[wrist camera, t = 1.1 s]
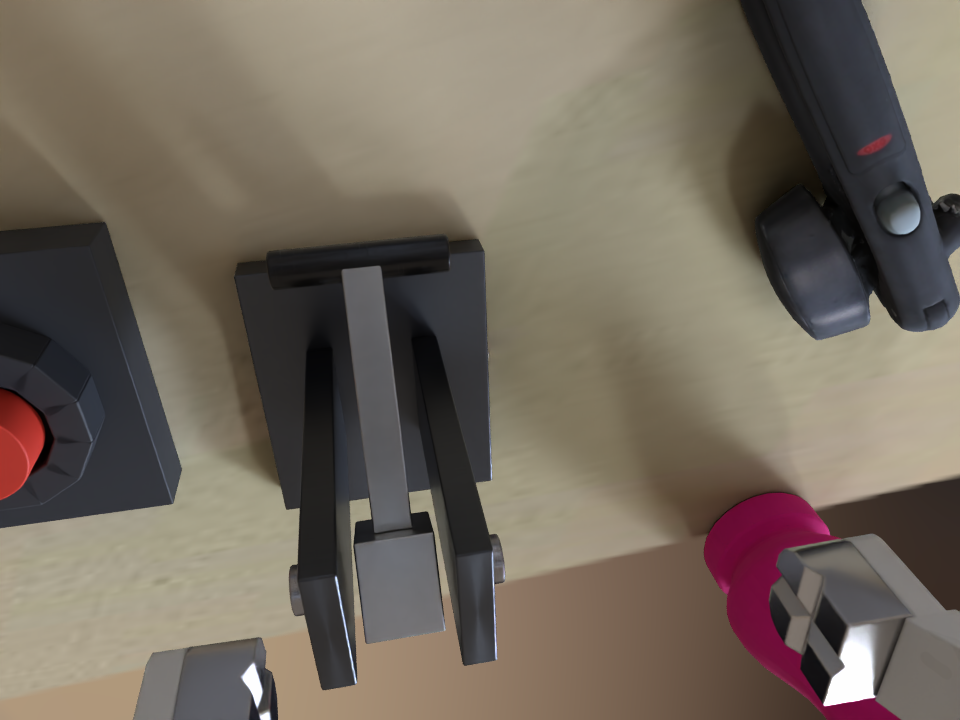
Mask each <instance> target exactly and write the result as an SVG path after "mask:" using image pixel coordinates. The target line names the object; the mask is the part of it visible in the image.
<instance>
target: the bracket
mask: <svg viewBox="0 0 960 720" xmlns="http://www.w3.org/2000/svg"><path fill="white" fill-rule="evenodd" d="M449 247H450V255H451V269H450V271H449V272H443V273H433V274H424V275H414V276H405V277H395V278H386V279H383V287H384V295H385V303H386V311H387V320H388V328H389V336H390V344H391V353H392V361H393V369H394V377H395V386H396V394H397V402H398V411H399V419H400V427H401V435H402V444H403V452H404V460H405V468H406V477H407V485H408V492H414V491H421V490H428V489H431V494H432V499H433V505H434V510H435V516H436V521H437V526H438V532H439V537H440V543H441V548H442V553H443V559H444V564H445V570H446V575H447V581H448V586H449V591H450V597H451V602H452V607H453V613H454V618H455V624H456V629H457V635H458V640H459V645H460V651H461V656H462V662H463V664H464V666H467V665H472V664H478V663H484V662H489V661H494V660H497V640H496V612H495V584H498V583H503V582H504V581H505V565H504V558H503V552H502V547H501V543H500V540H499V537H498V535H497V534H492V535H489V532H488V528H487V524H486V521H485V517H484V513H483V509H482V506H481V502H480V498H479V494H478V490H477V487H476V482H483V481H490V480H492V461H491V432H490V402H489V372H488V342H487V313H486V283H485V253H484V249H483V247H482V245H481V243H480V241H479V239H475V240H465V241H455V242H449ZM234 279H235V284H236V288H237V293H238V297H239V301H240V306H241V310H242V315H243V319H244V324H245V328H246V333H247V337H248V342H249V346H250V351H251V355H252V360H253V364H254V368H255V373H256V377H257V382H258V386H259V391H260V395H261V400H262V404H263V409H264V413H265V418H266V422H267V427H268V431H269V436H270V440H271V444H272V449H273V453H274V458H275V462H276V467H277V471H278V476H279V480H280V485H281V489H282V494H283V498H284V503H285V507H286V509H287V510H289V509H296V508H300V516H299V542H298V564H297V565H292V566H291V567H290V570H289V592H290V600H291V606H292V610H293V613H294V615H295V616H301V615H305V619H306V623H307V627H308V632H309V636H310V640H311V645H312V649H313V654H314V658H315V662H316V666H317V671H318V675H319V680H320V684H321V688H322V690H329V689H334V688H340V687H346V686H351V685H355V684H356V683H357V663H356V641H355V618H354V595H353V572H352V549H351V527H350V504H349V501H351V500H358V499H365V498H369V493H368V485H367V477H366V469H365V461H364V452H363V444H362V436H361V428H360V420H359V412H358V404H357V396H356V388H355V380H354V372H353V364H352V356H351V348H350V340H349V332H348V324H347V316H346V308H345V300H344V292H343V284H342V283H339V284H329V285H320V286H310V287H301V288H291V289H282V290H273V289H272V288H271V286H270V283H269V278H268V273H267V265H266V261H256V262H246V263H238V264H237V267H236V271H235V275H234Z"/></svg>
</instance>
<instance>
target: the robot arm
mask: <svg viewBox="0 0 960 720" xmlns="http://www.w3.org/2000/svg"><path fill="white" fill-rule="evenodd" d="M776 567H777V568H778V570H779V571H780V573H781V574H782V575H781V576H780V577H779V578H778V579H777V581H776V582H775V583H774V584H773V585H772V586H771V590H770V596H769V606H770V613H771V618H772V621H773V623H774V626H775V628H776V631H777V632H778V634H779V636H780V637H781V639H782V641H783V642H784V644H785V645H786V646H788V647H789V648H791V649H793V650H794V651H796V652H798V653H799V654H801V655H802V657H801V666H800V670H801V671H802V673H803V674H804V676H805V677H806V679H807V681H808V682H809V684H810V685H811V687H812V688H813V690H814V691H815V693H816V695H817V696H818V698H819V699H820V701H821V702H822V704H823V706H827V705H833V704H839V703H845V702H851V701H857V700H863V699H869V698H875V697H876V699H875V701H877V702H878V703H879V704H881V705H882V706H883V707H885V708H886V709H887V710H889V711H890V712H891V713H893V714H894V715H896V716H897V717H898V718H900V719H901V720H960V612H959V611H957V610H948V611H946V610H945V609H944V608H943V607H942V605H941V604H940V603H939V602H938V601H937V600H936V599H935V598H934V597H933V596H932V594H931V593H930V592H929V591H928V590H927V589H926V588H925V586H924V585H923V584H922V583H921V582H920V581H919V580H918V579H917V578H916V577H915V575H914V574H913V573H912V572H911V571H910V570H909V569H908V568H907V567H906V565H905V564H904V563H903V562H902V561H901V560H900V559H899V558H898V556H897V555H896V554H895V553H894V552H893V551H892V550H891V549H890V548H889V546H888V545H887V544H886V543H885V542H884V541H883V540H882V539H881V538H880V537H878V536H876V535H874V534H868V535H862V536H856V537H851V538H844V539H835V540H830V541H824V542H819V543H813V544H808V545H802V546H797V547H791V548H785V549H784V550H783V551H782V552H781V553H780V554H779V556H778V560H777V564H776ZM265 663H266V650H265V647H264V644H263V641H262V638H259V637H258V638H251V639H244V640H236V641H229V642H222V643H215V644H208V645H201V646H194V647H188V648H182V649H175V650H169V651H162V652H155V653H152V655H151V657H150V659H149V660H148V662H147V664H146V668H145V672H144V676H143V681H142V684H141V689H140V693H139V697H138V701H137V705H136V710H135V714H134V718H133V720H278V707H277V694H276V688H275V682H274V679H273V675H272V672H271V671H269V670H267V669H266V668H265Z"/></svg>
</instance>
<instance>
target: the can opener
mask: <svg viewBox="0 0 960 720" xmlns="http://www.w3.org/2000/svg"><path fill="white" fill-rule="evenodd" d="M740 2H741V5H742V7H743V10H744V12H745V15H746V17H747V20H748V23H749V25H750V27H751V30H752V32H753V35H754V37H755V39H756V41H757V44H758V46H759V49H760V51H761V53H762V55H763V58H764V60H765V63H766V64H767V67H768V69H769V71H770V73H771V76H772V78H773V80H774V82H775V84H776V86H777V88H778V90H779V92H780V95H781V97H782V99H783V101H784V103H785V104H786V107H787V110H788V112H789V114H790V116H791V118H792V120H793V121H794V124H795V127H796V128H797V131H798V132H799V134H800V136H801V139H802V141H803V143H804V145H805V147H806V150H807V152H808V154H809V155H810V158H811V160H812V163H813V165H814V167H815V169H816V171H817V173H818V177H819V179H820V181H821V183H822V187H823V190H824V193H825V195H826V200H825V203H824V205H823V206H822V207H821V206H820V205H819V203H818V202H817V201H816V199H815V197H814V196H813V195H812V194H811V192H810V191H808V190H807V189H806V188H805V187H804V185H802V184H798V185H796V186H795V187H794V188H792V189H791V190H790V191H789V192H787V193H786V194H784V195H783V196H782V197H780V198H779V199H778V200H776V201H775V202H774V203H773V204H771V205H770V206H769V207H768V208H766V209H765V210H764V211H763V212H762V213H761V214H759V215H758V216H757V217H756V218H755V231H756V237H757V242H758V246H759V250H760V254H761V258H762V261H763V265H764V268H765V270H766V273H767V276H768V278H769V281H770V283H771V285H772V287H773V289H774V291H775V293H776V294H777V296H778V298H779V299H780V301H781V302H782V304H783V305H784V306H785V308H786V309H787V311H788V312H789V313H790V315H791V316H792V317H793V319H794V320H795V321H796V322H797V323H798V324H799V325H800V326H801V327H802V328H803V329H804V330H805V331H806V332H807V333H808V334H809V335H810V336H811V337H813V338H814V339H816V340H822V339H826V338H829V337H833V336H836V335H840V334H843V333H847V332H850V331H853V330H856V329H859V328H862V327H865V326H867V325H868V324H869V322H870V310H869V296H870V294H872V291H874V292H875V294H876V295H877V297H878V298H879V300H880V302H881V303H882V305H883V306H884V307H885V308H886V309H887V311H888V313H889V315H890V316H891V318H892V319H893V320H894V321H895V322H896V323H897V324H898V325H899V326H900V327H901V328H902V329H905V330H907V331H912V332H923V331H927V330H935V329H937V328H940V327H942V326H944V325H945V324H946V323H947V322H948V321H949V320H950V319H951V318H952V317H953V316H954V315H955V313H956V311H957V309H958V307H959V304H960V296H959V292H958V289H957V286H956V283H955V280H954V277H953V274H952V270H951V267H950V265H949V262H948V258H949V256H950V255H951V254H952V253H953V252H954V251H955V250H956V249H958V248H959V247H960V195H958V194H948V195H945V196H942V197H940V198H939V199H938V200H937V201H936V202H935V203H933V202H932V201H931V198H930V196H929V195H928V191H927V188H926V185H925V182H924V178H923V175H922V170H921V167H920V164H919V162H918V159H917V155H916V152H915V149H914V146H913V143H912V140H911V135H910V133H909V130H908V127H907V124H906V121H905V118H904V115H903V112H902V110H901V107H900V104H899V101H898V98H897V95H896V91H895V89H894V87H893V84H892V81H891V77H890V74H889V72H888V69H887V66H886V64H885V61H884V58H883V56H882V54H881V50H880V47H879V45H878V42H877V39H876V37H875V34H874V31H873V29H872V27H871V25H870V21H869V19H868V16H867V13H866V11H865V9H864V7H863V5H862V3H861V0H740Z"/></svg>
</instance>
